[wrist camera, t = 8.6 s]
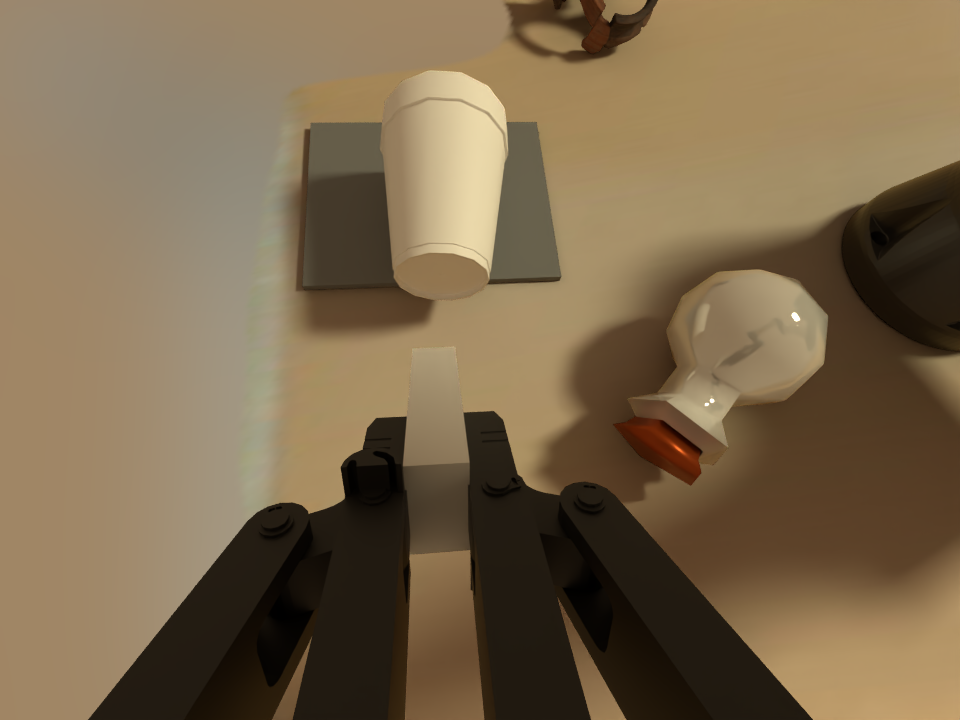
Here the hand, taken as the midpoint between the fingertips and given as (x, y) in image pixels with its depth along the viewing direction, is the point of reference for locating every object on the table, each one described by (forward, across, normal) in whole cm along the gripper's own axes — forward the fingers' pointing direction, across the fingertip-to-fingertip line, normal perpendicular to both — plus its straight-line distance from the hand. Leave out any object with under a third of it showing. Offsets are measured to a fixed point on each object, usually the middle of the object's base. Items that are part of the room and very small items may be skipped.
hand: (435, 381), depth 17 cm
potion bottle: (+14, +19, -9) cm, 26 cm away
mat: (+26, 0, +3) cm, 26 cm away
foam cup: (+15, +1, 0) cm, 15 cm away
